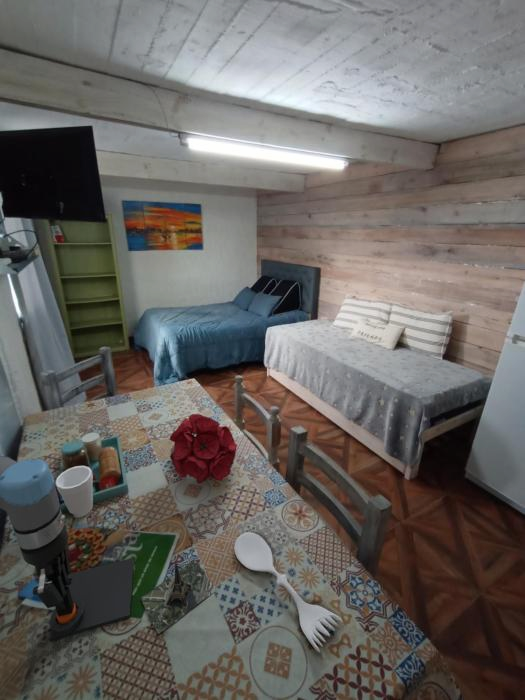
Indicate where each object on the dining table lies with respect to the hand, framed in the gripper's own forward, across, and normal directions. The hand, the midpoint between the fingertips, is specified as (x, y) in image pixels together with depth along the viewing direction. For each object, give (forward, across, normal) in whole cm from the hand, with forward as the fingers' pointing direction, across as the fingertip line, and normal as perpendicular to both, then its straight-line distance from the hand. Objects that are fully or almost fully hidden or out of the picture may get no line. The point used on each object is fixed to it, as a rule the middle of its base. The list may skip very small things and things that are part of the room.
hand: (66, 610), depth 70 cm
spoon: (+4, -6, -48) cm, 49 cm away
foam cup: (+4, +33, +4) cm, 34 cm away
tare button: (+2, 0, 0) cm, 2 cm away
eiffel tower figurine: (+4, -1, -24) cm, 24 cm away
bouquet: (+4, +40, -34) cm, 53 cm away
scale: (+4, +4, -5) cm, 7 cm away
